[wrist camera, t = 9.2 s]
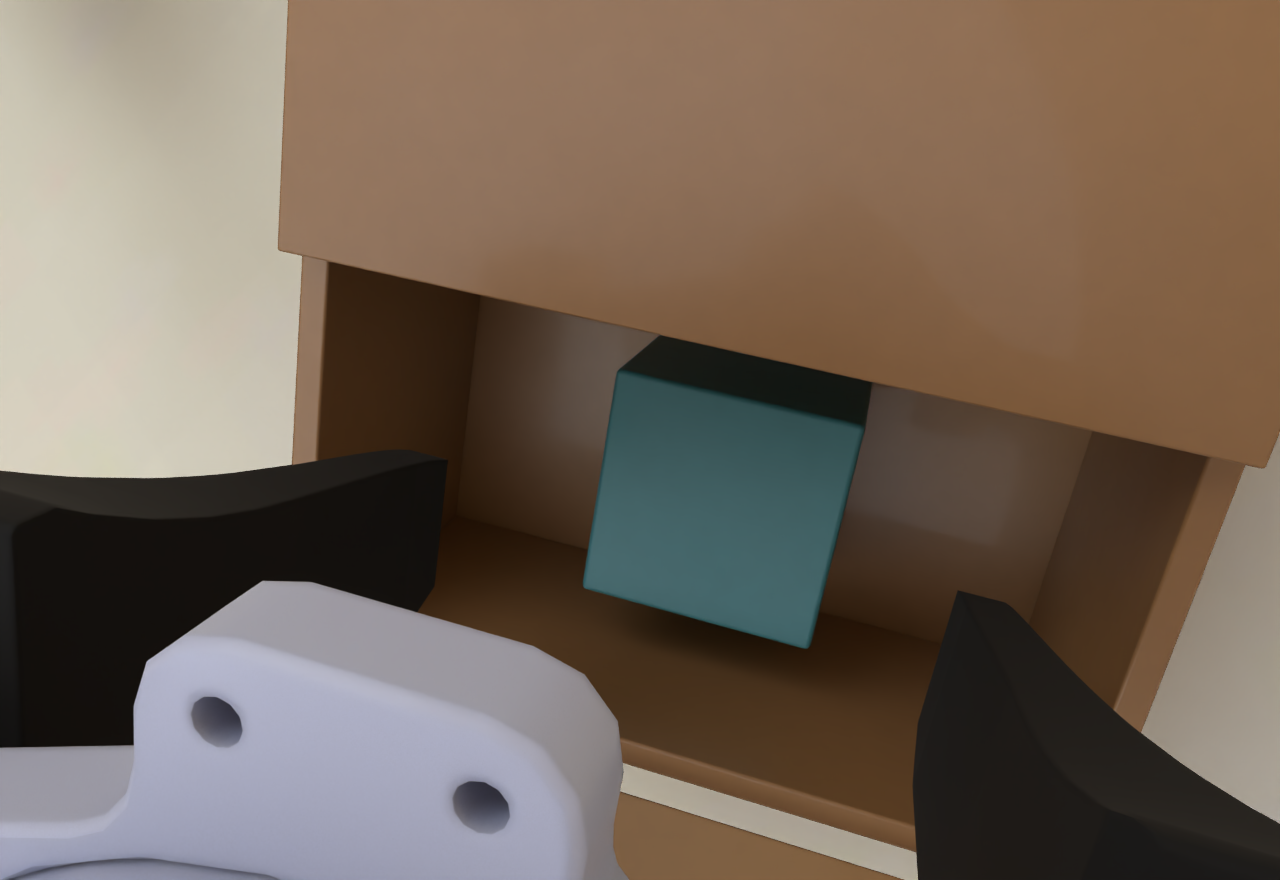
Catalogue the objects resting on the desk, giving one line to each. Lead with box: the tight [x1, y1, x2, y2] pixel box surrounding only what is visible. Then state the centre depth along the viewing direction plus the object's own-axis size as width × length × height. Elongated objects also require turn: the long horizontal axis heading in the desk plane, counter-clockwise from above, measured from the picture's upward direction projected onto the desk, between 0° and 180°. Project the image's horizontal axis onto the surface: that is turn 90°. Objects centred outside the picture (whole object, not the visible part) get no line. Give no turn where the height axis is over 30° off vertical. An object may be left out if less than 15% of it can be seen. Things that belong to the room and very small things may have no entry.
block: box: [583, 335, 873, 649], centre depth 18 cm, size 4×4×4 cm
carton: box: [278, 0, 1280, 852], centre depth 16 cm, size 14×13×7 cm
